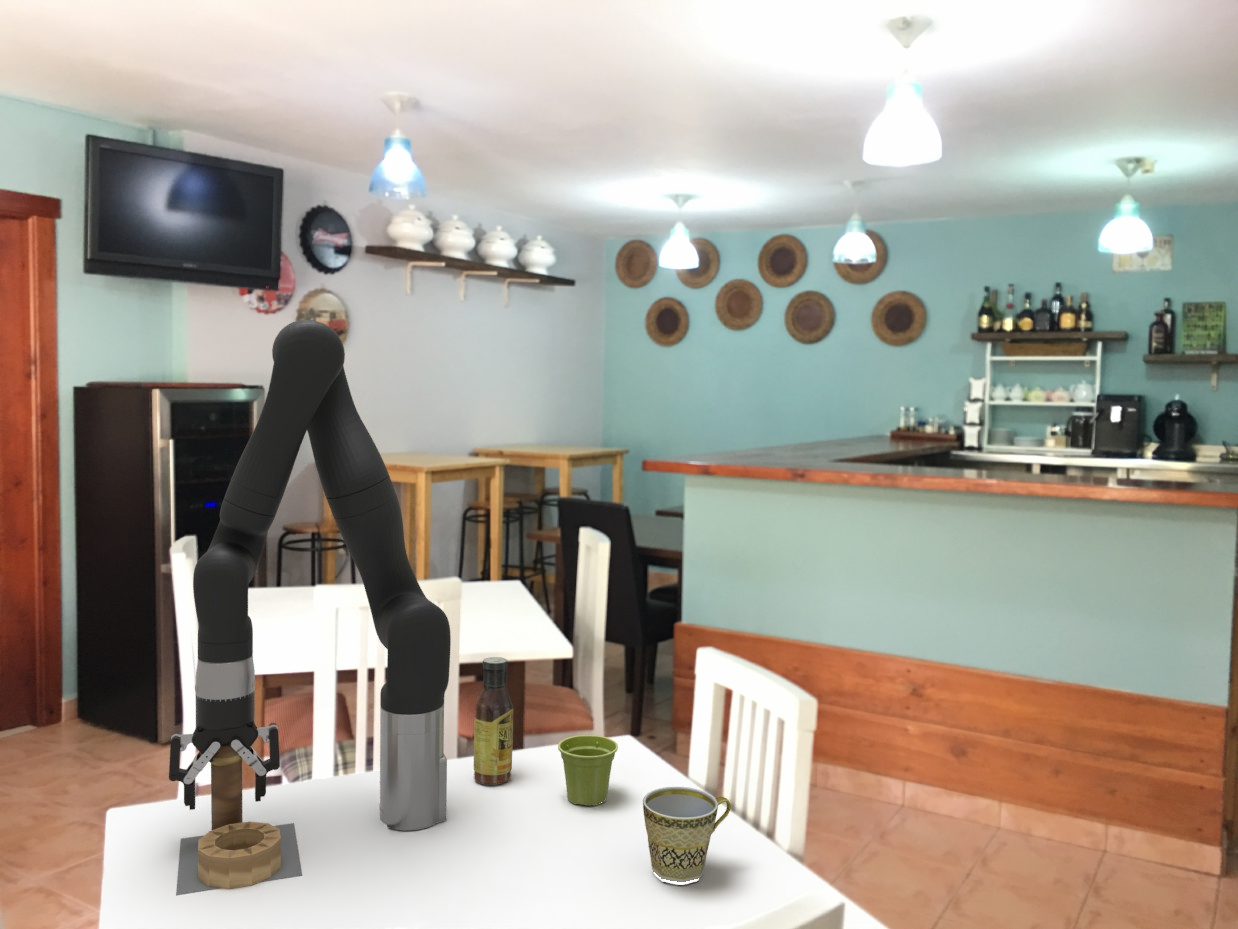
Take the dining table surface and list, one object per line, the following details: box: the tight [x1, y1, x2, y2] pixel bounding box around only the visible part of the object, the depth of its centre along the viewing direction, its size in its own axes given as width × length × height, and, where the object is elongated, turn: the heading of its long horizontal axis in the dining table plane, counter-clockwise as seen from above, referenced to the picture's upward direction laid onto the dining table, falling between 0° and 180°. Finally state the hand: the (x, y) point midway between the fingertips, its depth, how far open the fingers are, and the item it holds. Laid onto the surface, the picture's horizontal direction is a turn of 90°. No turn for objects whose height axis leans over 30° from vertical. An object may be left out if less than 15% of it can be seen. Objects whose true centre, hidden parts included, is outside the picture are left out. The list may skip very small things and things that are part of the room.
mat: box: [175, 822, 303, 896], centre depth 133 cm, size 15×16×1 cm
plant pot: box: [557, 734, 619, 806], centre depth 155 cm, size 9×9×9 cm
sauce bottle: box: [473, 656, 514, 786], centre depth 161 cm, size 7×6×20 cm
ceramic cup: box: [642, 786, 731, 882], centre depth 133 cm, size 13×10×10 cm
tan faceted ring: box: [198, 821, 281, 890], centre depth 130 cm, size 10×10×4 cm
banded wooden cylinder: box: [210, 745, 244, 831], centre depth 137 cm, size 4×4×14 cm
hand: (225, 803), depth 137 cm, fingers open, 8 cm apart
